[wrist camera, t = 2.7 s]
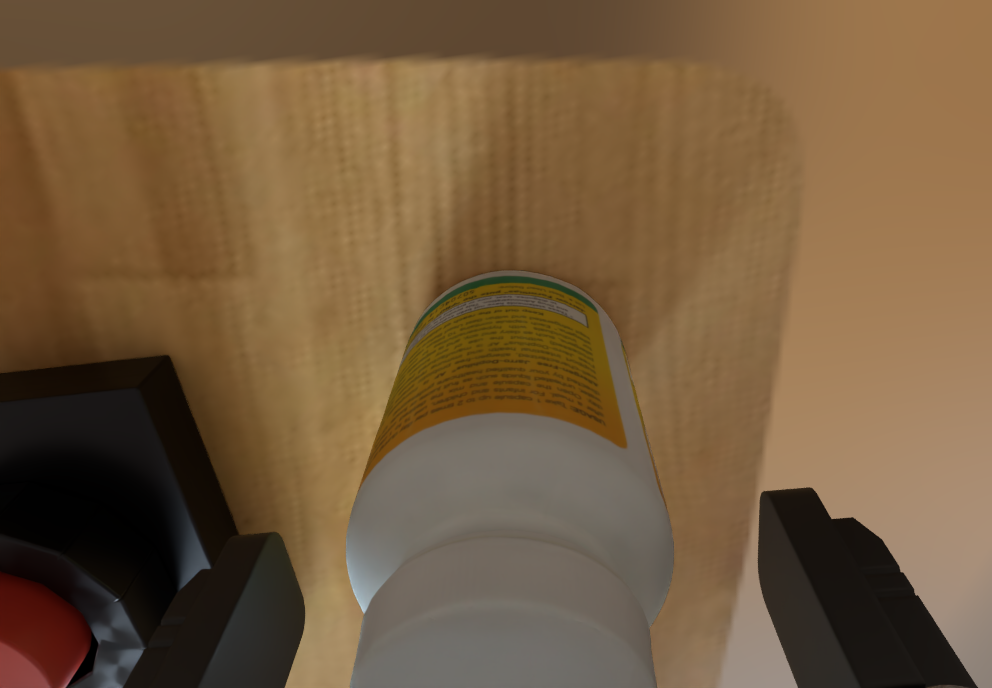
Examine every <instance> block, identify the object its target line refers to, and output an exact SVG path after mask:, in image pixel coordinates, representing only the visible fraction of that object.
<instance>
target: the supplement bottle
mask: <svg viewBox="0 0 992 688" xmlns="http://www.w3.org/2000/svg"><path fill="white" fill-rule="evenodd" d="M346 561H347V568H348V573H349V578H350V582H351V586H352V589H353V591H354V594H355V597H356V599H357V601H358V603H359V605H360V607H361V609H362V611H363V613H364V617H363V621H362V626H361V633H360V639H359V644H358V649H357V654H356V659H355V664H354V668H353V673H352V677H351V682H350V688H657V684H656V677H655V671H654V665H653V659H652V653H651V638H650V630H649V628H650V626H651V625H652V624H653V622H654V620H655V619H656V617H657V615H658V614H659V612H660V610H661V608H662V606H663V604H664V601H665V599H666V596H667V593H668V590H669V587H670V583H671V579H672V573H673V564H674V541H673V535H672V528H671V523H670V519H669V515H668V511H667V507H666V503H665V499H664V495H663V491H662V487H661V484H660V480H659V476H658V472H657V469H656V465H655V462H654V458H653V454H652V451H651V447H650V443H649V440H648V436H647V432H646V429H645V425H644V421H643V417H642V414H641V410H640V406H639V403H638V399H637V394H636V390H635V386H634V382H633V379H632V375H631V371H630V367H629V363H628V359H627V356H626V353H625V350H624V347H623V344H622V341H621V338H620V336H619V333H618V331H617V329H616V327H615V326H614V324H613V322H612V321H611V319H610V318H609V316H608V315H607V314H606V312H605V311H604V310H603V309H602V308H601V307H600V305H599V304H598V303H597V302H595V301H594V300H593V299H592V298H591V297H590V296H588V295H587V294H586V293H585V292H583V291H582V290H581V289H579V288H578V287H576V286H574V285H572V284H570V283H567V282H565V281H562V280H559V279H556V278H553V277H551V276H547V275H543V274H539V273H533V272H527V271H516V270H503V271H496V272H489V273H485V274H481V275H477V276H475V277H472V278H469V279H467V280H464V281H462V282H460V283H458V284H456V285H454V286H453V287H451V288H449V289H448V290H447V291H445V292H444V293H442V294H441V295H440V296H439V297H437V298H436V299H435V300H434V301H433V302H432V303H431V304H430V305H429V306H428V307H427V308H426V310H425V311H424V312H423V314H422V315H421V317H420V318H419V320H418V322H417V324H416V325H415V327H414V330H413V332H412V334H411V336H410V339H409V341H408V344H407V346H406V349H405V352H404V355H403V358H402V361H401V364H400V367H399V370H398V373H397V376H396V379H395V382H394V385H393V388H392V391H391V394H390V397H389V400H388V403H387V406H386V410H385V413H384V415H383V418H382V421H381V424H380V427H379V430H378V432H377V435H376V438H375V441H374V444H373V447H372V450H371V453H370V456H369V459H368V462H367V465H366V468H365V471H364V474H363V477H362V481H361V484H360V487H359V490H358V493H357V496H356V499H355V502H354V505H353V508H352V511H351V515H350V520H349V524H348V529H347V536H346Z"/></svg>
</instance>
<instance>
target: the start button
mask: <svg viewBox="0 0 992 688" xmlns="http://www.w3.org/2000/svg"><path fill="white" fill-rule="evenodd" d="M91 641H92V633H91V629H90V628H89V626H88V624H87V622H86V620H85V619H84V617H83V615H82V613H81V612H80V611H79V610H77V609H76V608H74V607H73V606H72V605H70V604H69V603H68V602H66V601H65V600H63V599H62V598H61V597H59V596H58V595H56V594H55V593H54V592H52V591H51V590H49V589H48V588H47V587H45V586H44V585H43V584H40V583H36V582H33V581H30V580H26V579H23V578H19V577H16V576H13V575H9V574H6V573H3V572H0V688H66V687H67V685H68V683H69V682H70V680H71V679H72V677H73V676H74V674H75V673H76V671H77V670H78V668H79V666H80V665H81V663H82V662H83V660H84V659H85V657H86V656H87V654H88V652H89V650H90V647H91Z"/></svg>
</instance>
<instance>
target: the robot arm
mask: <svg viewBox="0 0 992 688" xmlns="http://www.w3.org/2000/svg"><path fill="white" fill-rule="evenodd" d="M758 544H759V545H758V573H759V580H760V585H761V590H762V594H763V598H764V601H765V604H766V607H767V609H768V612H769V614H770V617H771V619H772V622H773V625H774V627H775V630H776V632H777V635H778V637H779V640H780V642H781V645H782V648H783V650H784V653H785V655H786V658H787V661H788V663H789V665H790V668H791V671H792V673H793V676H794V679H795V681H796V683H797V686H798V688H978V687H977V686H976V684H975V683H974V681H973V680H972V678H971V677H970V675H969V674H968V672H967V671H966V669H965V668H964V666H963V664H962V663H961V662H960V660H959V658H958V657H957V655H956V654H955V652H954V650H953V649H952V648H951V646H950V644H949V643H948V641H947V640H946V638H945V637H944V635H943V633H942V632H941V630H940V629H939V627H938V626H937V624H936V623H935V621H934V619H933V618H932V616H931V615H930V613H929V612H928V610H927V609H926V607H925V606H924V604H923V602H922V601H921V599H920V598H919V596H918V595H917V596H916V595H915V593H914V588H913V587H912V585H911V584H910V582H909V581H908V579H907V578H906V576H905V575H904V573H902V572H900V568H899V565H898V564H897V562H896V561H895V559H894V558H893V556H892V554H891V553H890V551H889V550H888V548H887V547H886V545H885V544H884V542H883V540H882V539H880V538H879V537H878V536H876V535H875V534H874V533H873V532H871V531H870V530H869V529H867V528H866V527H865V526H863V525H862V524H861V523H860V522H858V521H857V520H856V519H854V518H853V517H852V518H842V519H841V518H840V519H831V517H830V516H829V514H828V512H827V511H826V509H825V507H824V505H823V504H822V502H821V500H820V498H819V497H818V495H817V493H816V492H815V491H814V490H813V489H812V488H798V489H786V490H774V491H764V492H762V493H761V496H760V510H759V542H758ZM304 624H305V605H304V599H303V595H302V592H301V589H300V587H299V584H298V581H297V578H296V575H295V572H294V570H293V567H292V564H291V561H290V558H289V555H288V553H287V550H286V547H285V544H284V541H283V539H282V537H281V536H280V535H279V534H278V533H277V532H270V533H259V534H247V535H235V536H232V537H230V538H229V539H228V541H227V542H226V544H225V546H224V547H223V549H222V551H221V553H220V555H219V557H218V559H217V561H216V562H215V564H214V566H213V568H211V569H201V570H200V571H199V572H198V573H197V574H196V575H195V576H194V577H193V578H192V579H191V580H190V581H189V582H188V583H187V584H186V585H185V586H184V587H183V588H182V589H181V590H180V591H179V592H177V593H176V595H175V597H174V599H173V600H172V602H171V604H170V606H169V607H168V609H167V611H166V613H165V614H164V616H163V618H162V620H161V626H158V627H157V628H156V630H155V632H154V634H153V635H152V637H151V639H150V641H149V642H148V649H144V651H143V653H142V655H141V656H140V658H139V660H138V661H137V663H136V665H135V667H134V668H133V670H132V672H131V674H130V675H129V677H128V679H127V681H126V682H125V684H124V686H123V688H285V685H286V682H287V679H288V676H289V673H290V670H291V667H292V664H293V661H294V658H295V655H296V652H297V649H298V647H299V644H300V641H301V638H302V634H303V630H304Z"/></svg>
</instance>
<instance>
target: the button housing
mask: <svg viewBox="0 0 992 688" xmlns="http://www.w3.org/2000/svg"><path fill="white" fill-rule="evenodd" d="M235 535H239V534H238V532H237V529H236V526H235V524H234V521H233V519H232V516H231V514H230V511H229V508H228V506H227V503H226V501H225V498H224V495H223V493H222V490H221V488H220V485H219V483H218V480H217V477H216V475H215V472H214V470H213V467H212V465H211V462H210V459H209V457H208V454H207V452H206V449H205V447H204V444H203V441H202V439H201V436H200V434H199V431H198V429H197V426H196V423H195V421H194V418H193V416H192V413H191V411H190V408H189V405H188V403H187V400H186V398H185V395H184V393H183V390H182V387H181V385H180V382H179V380H178V377H177V374H176V372H175V369H174V367H173V364H172V362H171V359H170V357H169V356H168V355H165V356H156V357H147V358H138V359H129V360H120V361H111V362H102V363H93V364H84V365H75V366H66V367H57V368H48V369H39V370H30V371H21V372H12V373H3V374H0V572H3V573H6V574H9V575H13V576H16V577H19V578H23V579H26V580H30V581H33V582H36V583H40V584H43V585H44V586H45V587H47V588H48V589H49V590H51V591H52V592H54V593H55V594H56V595H58V596H59V597H61V598H62V599H63V600H65V601H66V602H68V603H69V604H70V605H72V606H73V607H74V608H76V609H77V610H79V611H80V612H81V613H82V615H83V617H84V619H85V620H86V622H87V624H88V626H89V628H90V629H91V633H92V641H91V647H90V650H89V652H88V654H87V656H86V657H85V659H84V660H83V662H82V663H81V665H80V666H79V668H78V670H77V671H76V673H75V674H74V676H73V677H72V679H71V680H70V682H69V683H68V685H67V687H66V688H123V686H124V684H125V682H126V681H127V679H128V677H129V675H130V674H131V672H132V670H133V668H134V667H135V665H136V663H137V661H138V660H139V658H140V656H141V655H142V653H143V651H144V649H148V642H149V641H150V639H151V637H152V635H153V634H154V632H155V630H156V628H157V627H158V626H161V620H162V618H163V616H164V614H165V613H166V611H167V609H168V607H169V606H170V604H171V602H172V600H173V599H174V597H175V595H176V593H177V592H179V591H180V590H181V589H182V588H183V587H184V586H185V585H186V584H187V583H188V582H189V581H190V580H191V579H192V578H193V577H194V576H195V575H196V574H197V573H198V572H199V571H200V570H201V569H211V568H213V566H214V564H215V562H216V561H217V559H218V557H219V555H220V553H221V551H222V549H223V547H224V546H225V544H226V542H227V541H228V539H229V538H230V537H232V536H235Z"/></svg>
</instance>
